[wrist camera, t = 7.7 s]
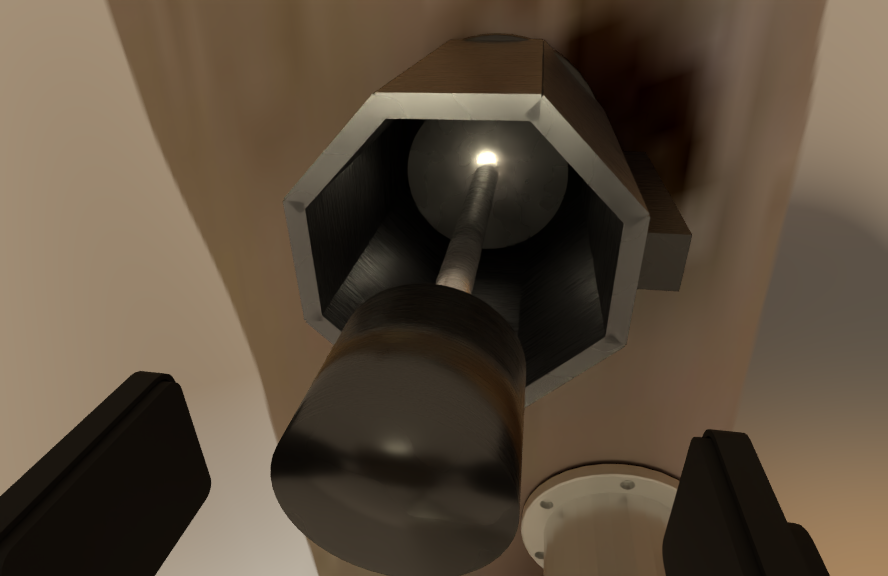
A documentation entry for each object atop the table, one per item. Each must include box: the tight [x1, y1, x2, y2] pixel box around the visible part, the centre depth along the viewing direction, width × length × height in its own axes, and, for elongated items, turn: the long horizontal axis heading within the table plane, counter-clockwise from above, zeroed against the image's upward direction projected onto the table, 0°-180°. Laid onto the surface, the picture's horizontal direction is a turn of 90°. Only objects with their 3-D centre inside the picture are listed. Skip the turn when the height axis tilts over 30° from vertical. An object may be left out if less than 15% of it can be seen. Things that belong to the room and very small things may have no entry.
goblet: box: [271, 119, 568, 576], centre depth 15 cm, size 7×7×16 cm
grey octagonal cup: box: [283, 33, 692, 408], centre depth 20 cm, size 10×11×12 cm
